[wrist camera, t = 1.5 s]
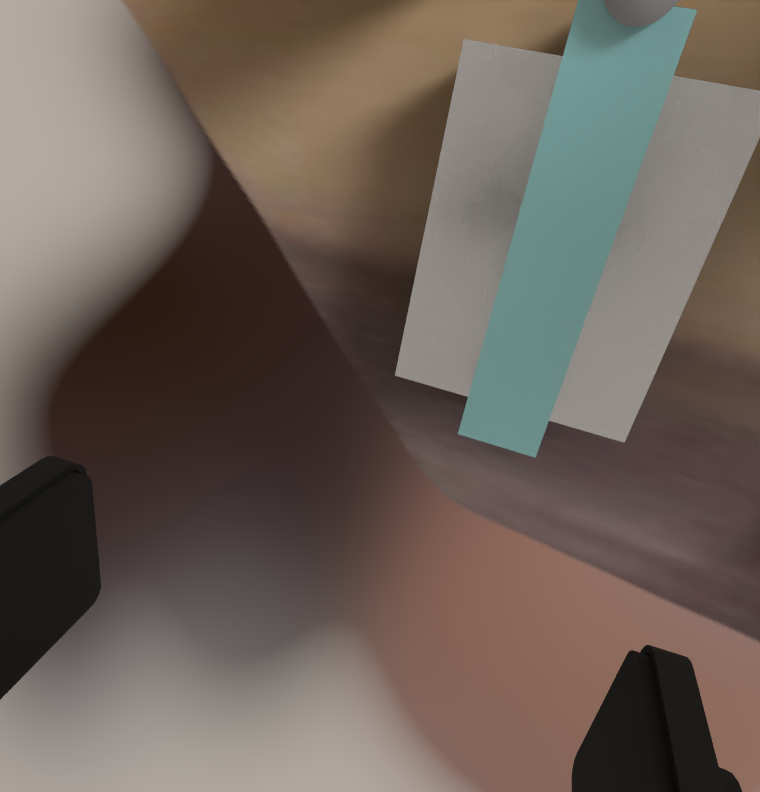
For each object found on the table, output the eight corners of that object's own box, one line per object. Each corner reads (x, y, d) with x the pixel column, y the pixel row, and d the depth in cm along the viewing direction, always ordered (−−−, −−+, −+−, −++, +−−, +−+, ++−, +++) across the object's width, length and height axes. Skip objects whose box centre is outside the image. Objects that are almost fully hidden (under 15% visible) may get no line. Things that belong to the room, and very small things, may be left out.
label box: (481, 53, 29) (458, 36, 23) (739, 99, 26) (782, 93, 21) (418, 338, 36) (390, 377, 30) (616, 393, 34) (625, 446, 28)
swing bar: (591, -12, 26) (600, -85, 17) (674, 0, 25) (729, -68, 16) (486, 358, 35) (453, 444, 26) (545, 375, 34) (534, 469, 25)
